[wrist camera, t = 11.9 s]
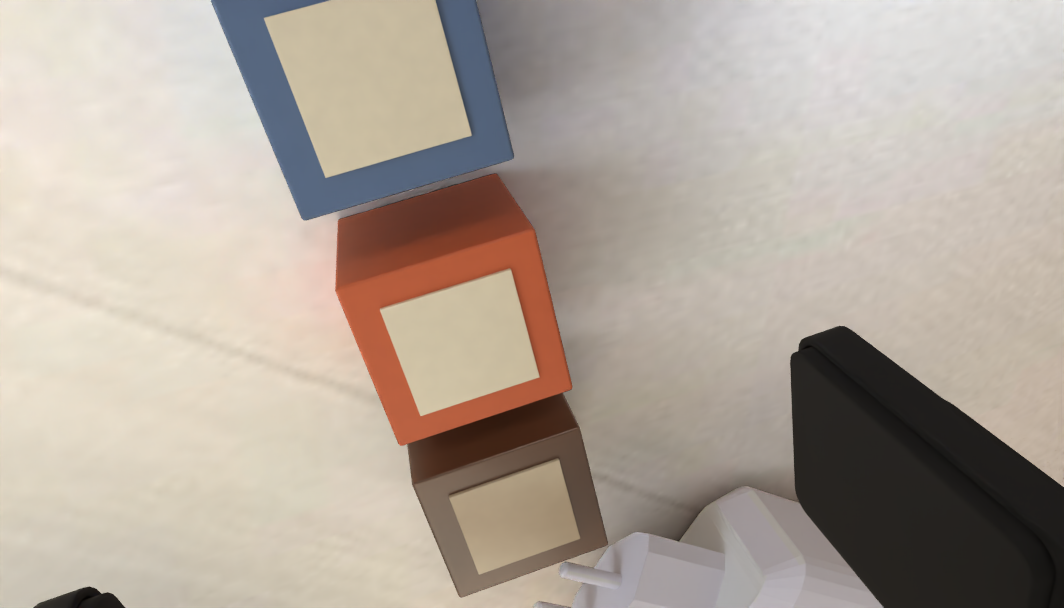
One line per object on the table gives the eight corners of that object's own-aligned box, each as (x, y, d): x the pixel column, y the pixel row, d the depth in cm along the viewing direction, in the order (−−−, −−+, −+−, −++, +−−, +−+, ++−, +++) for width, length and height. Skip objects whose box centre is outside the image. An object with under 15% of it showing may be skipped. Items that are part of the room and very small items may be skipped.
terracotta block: (336, 219, 17) (334, 290, 14) (496, 171, 18) (535, 229, 14) (389, 355, 19) (399, 449, 16) (532, 309, 20) (574, 392, 16)
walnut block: (399, 387, 20) (411, 486, 16) (538, 342, 20) (581, 429, 17) (441, 492, 22) (460, 601, 18) (566, 449, 22) (610, 547, 19)
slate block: (238, -25, 15) (201, -17, 11) (430, -74, 15) (457, -83, 11) (312, 164, 17) (302, 224, 13) (479, 115, 17) (516, 160, 13)
